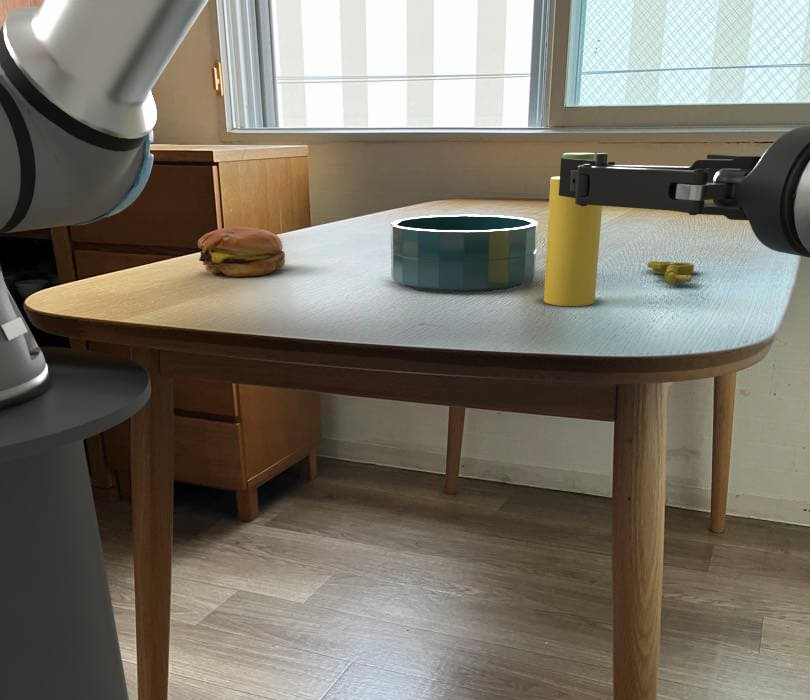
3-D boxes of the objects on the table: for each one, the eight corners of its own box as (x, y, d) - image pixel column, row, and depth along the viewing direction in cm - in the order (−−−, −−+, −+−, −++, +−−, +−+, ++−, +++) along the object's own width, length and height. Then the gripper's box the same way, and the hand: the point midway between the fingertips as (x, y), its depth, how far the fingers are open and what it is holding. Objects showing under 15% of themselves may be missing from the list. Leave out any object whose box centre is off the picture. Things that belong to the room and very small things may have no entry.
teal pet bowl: (365, 287, 93) (363, 226, 90) (433, 266, 105) (434, 213, 102) (497, 299, 86) (500, 234, 83) (555, 276, 98) (558, 218, 95)
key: (694, 274, 90) (643, 272, 91) (692, 287, 90) (642, 285, 91) (694, 259, 100) (649, 258, 101) (693, 271, 100) (647, 269, 102)
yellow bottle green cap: (535, 303, 84) (543, 154, 78) (554, 295, 88) (563, 152, 82) (584, 308, 82) (596, 155, 76) (601, 299, 85) (613, 152, 80)
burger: (283, 263, 108) (280, 222, 106) (287, 275, 100) (284, 232, 98) (201, 266, 107) (196, 225, 105) (198, 279, 98) (193, 235, 96)
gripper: (654, 271, 51) (496, 230, 69) (973, 248, 59) (756, 217, 77) (670, 128, 48) (500, 124, 66) (1006, 124, 56) (772, 121, 73)
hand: (638, 174), depth 71 cm, fingers open, 13 cm apart
